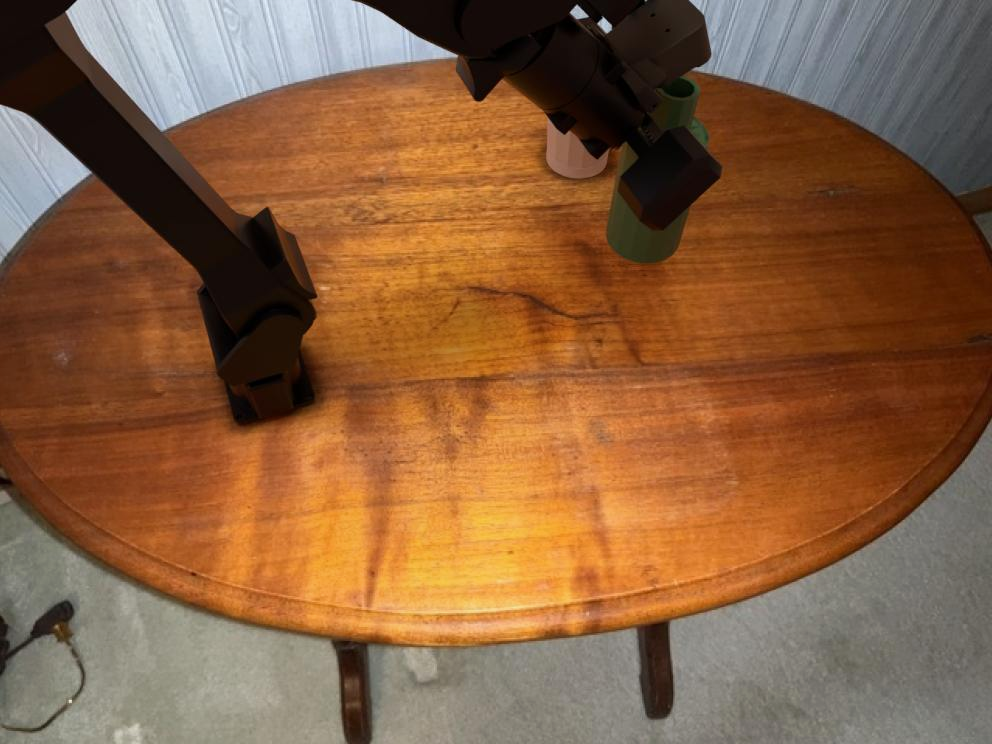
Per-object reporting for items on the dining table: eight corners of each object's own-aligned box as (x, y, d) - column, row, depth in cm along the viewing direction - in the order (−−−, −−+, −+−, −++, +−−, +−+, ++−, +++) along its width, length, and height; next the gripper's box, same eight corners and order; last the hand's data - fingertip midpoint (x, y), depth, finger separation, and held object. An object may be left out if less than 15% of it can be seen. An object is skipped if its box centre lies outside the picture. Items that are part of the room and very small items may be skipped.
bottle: (591, 241, 71) (617, 90, 59) (630, 202, 74) (661, 52, 62) (655, 275, 69) (695, 126, 57) (692, 233, 72) (737, 83, 60)
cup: (571, 194, 82) (583, 89, 72) (522, 152, 85) (528, 47, 76) (630, 164, 85) (650, 59, 75) (581, 125, 88) (594, 20, 79)
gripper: (734, 49, 46) (826, 162, 58) (587, -97, 56) (691, 25, 68) (591, 190, 50) (704, 269, 62) (479, 32, 61) (594, 125, 72)
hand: (673, 164), depth 66 cm, fingers closed on bottle, 6 cm apart
